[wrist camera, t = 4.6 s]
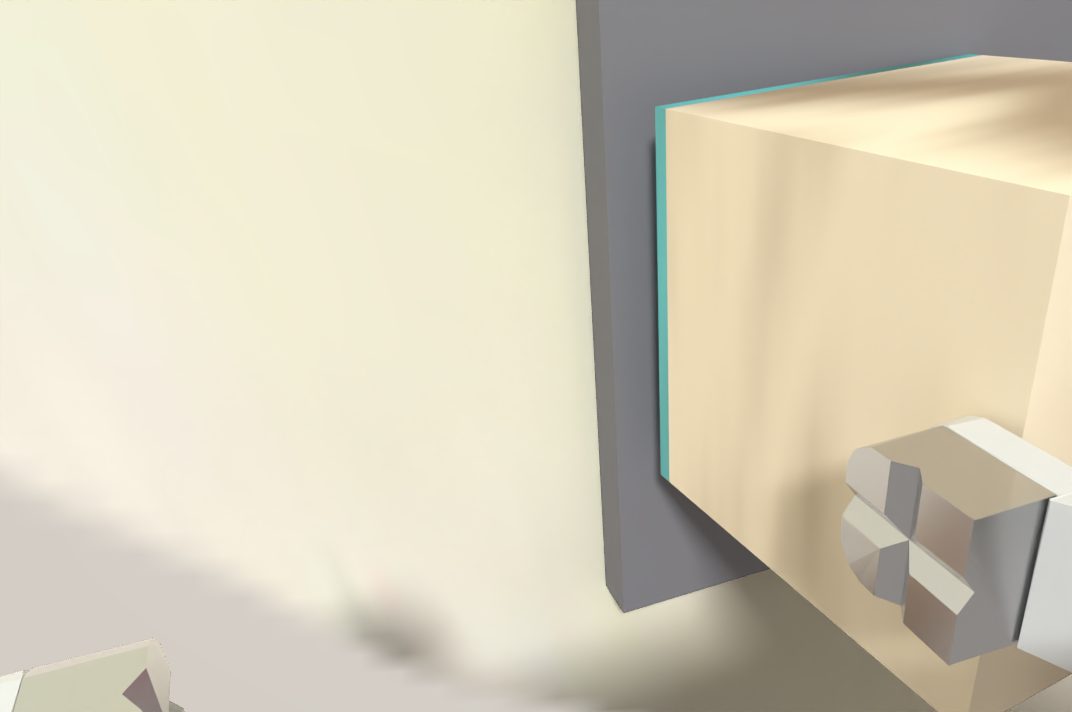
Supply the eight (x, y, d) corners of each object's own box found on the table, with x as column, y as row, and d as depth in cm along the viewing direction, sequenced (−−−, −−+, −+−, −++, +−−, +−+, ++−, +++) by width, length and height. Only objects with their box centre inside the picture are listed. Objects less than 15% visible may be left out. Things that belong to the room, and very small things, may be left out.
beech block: (968, 54, 16) (1456, 92, 10) (924, 381, 19) (1285, 552, 13) (655, 106, 14) (1069, 195, 8) (660, 474, 17) (963, 734, 11)
